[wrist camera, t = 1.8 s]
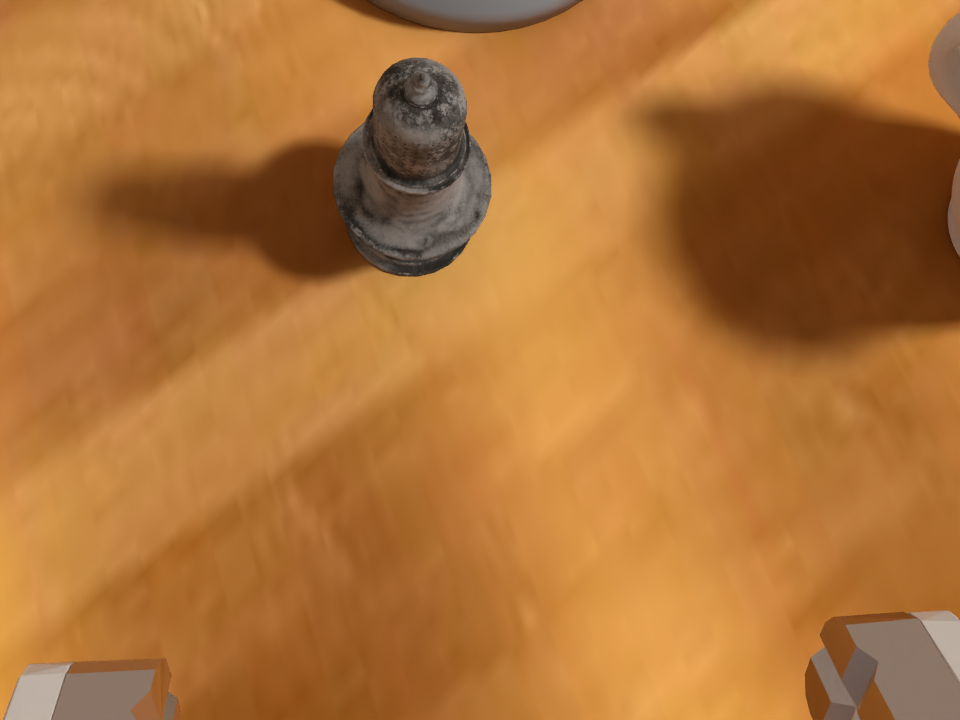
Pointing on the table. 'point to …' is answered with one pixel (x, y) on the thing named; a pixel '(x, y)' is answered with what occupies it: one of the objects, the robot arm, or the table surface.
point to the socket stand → (476, 13)
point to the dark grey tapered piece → (413, 172)
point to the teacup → (949, 102)
